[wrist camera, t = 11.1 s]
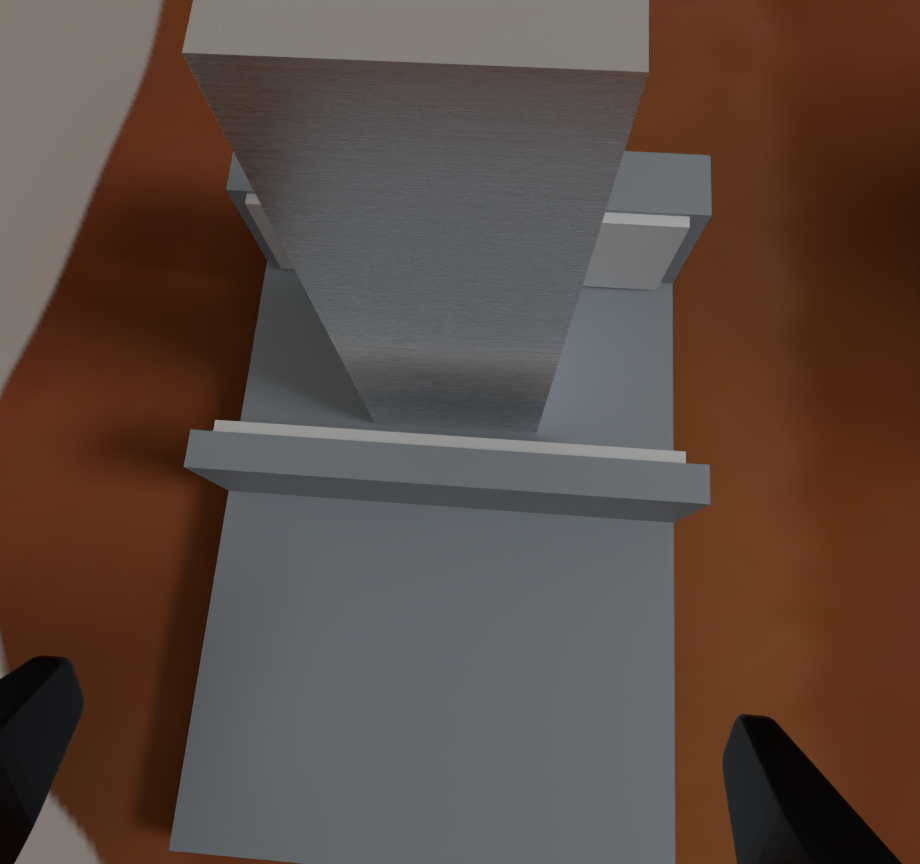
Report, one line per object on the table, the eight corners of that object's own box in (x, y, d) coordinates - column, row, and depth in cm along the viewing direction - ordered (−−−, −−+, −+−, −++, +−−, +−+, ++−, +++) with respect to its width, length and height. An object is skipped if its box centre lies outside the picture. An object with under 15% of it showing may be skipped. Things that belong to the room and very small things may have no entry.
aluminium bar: (536, 433, 19) (649, 72, 7) (374, 423, 19) (182, 52, 7) (541, 317, 20) (648, -197, 7) (387, 308, 20) (239, -206, 8)
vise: (664, 883, 17) (728, 972, 13) (185, 838, 18) (89, 909, 13) (663, 233, 22) (710, 136, 17) (286, 213, 22) (240, 114, 18)
